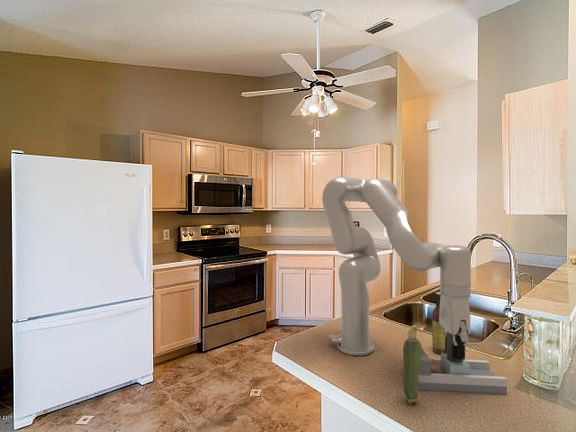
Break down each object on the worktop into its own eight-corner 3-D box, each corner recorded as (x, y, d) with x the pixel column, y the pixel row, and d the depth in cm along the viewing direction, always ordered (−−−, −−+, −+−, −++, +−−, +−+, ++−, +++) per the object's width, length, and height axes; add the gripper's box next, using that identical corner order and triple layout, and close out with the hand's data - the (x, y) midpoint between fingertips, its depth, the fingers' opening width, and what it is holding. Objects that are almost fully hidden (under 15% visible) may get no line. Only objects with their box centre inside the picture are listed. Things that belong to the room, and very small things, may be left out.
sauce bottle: (455, 356, 103) (455, 296, 103) (434, 355, 105) (435, 295, 104) (449, 347, 110) (449, 291, 109) (430, 346, 111) (430, 290, 110)
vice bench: (415, 389, 85) (415, 360, 85) (405, 370, 95) (405, 344, 95) (506, 394, 82) (507, 364, 82) (487, 374, 92) (487, 347, 92)
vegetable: (400, 396, 82) (400, 320, 81) (416, 395, 82) (416, 319, 82) (408, 407, 77) (408, 326, 77) (425, 406, 78) (425, 326, 77)
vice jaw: (450, 379, 85) (450, 335, 85) (440, 366, 92) (441, 326, 92) (469, 380, 85) (469, 336, 85) (458, 367, 92) (459, 326, 91)
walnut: (428, 376, 87) (428, 365, 87) (423, 369, 91) (423, 358, 91) (443, 377, 87) (443, 366, 87) (438, 370, 91) (438, 359, 91)
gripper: (430, 282, 97) (430, 341, 97) (453, 298, 80) (452, 369, 81) (456, 283, 96) (456, 342, 96) (484, 299, 79) (484, 370, 80)
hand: (454, 354), depth 88 cm, fingers closed on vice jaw, 4 cm apart
